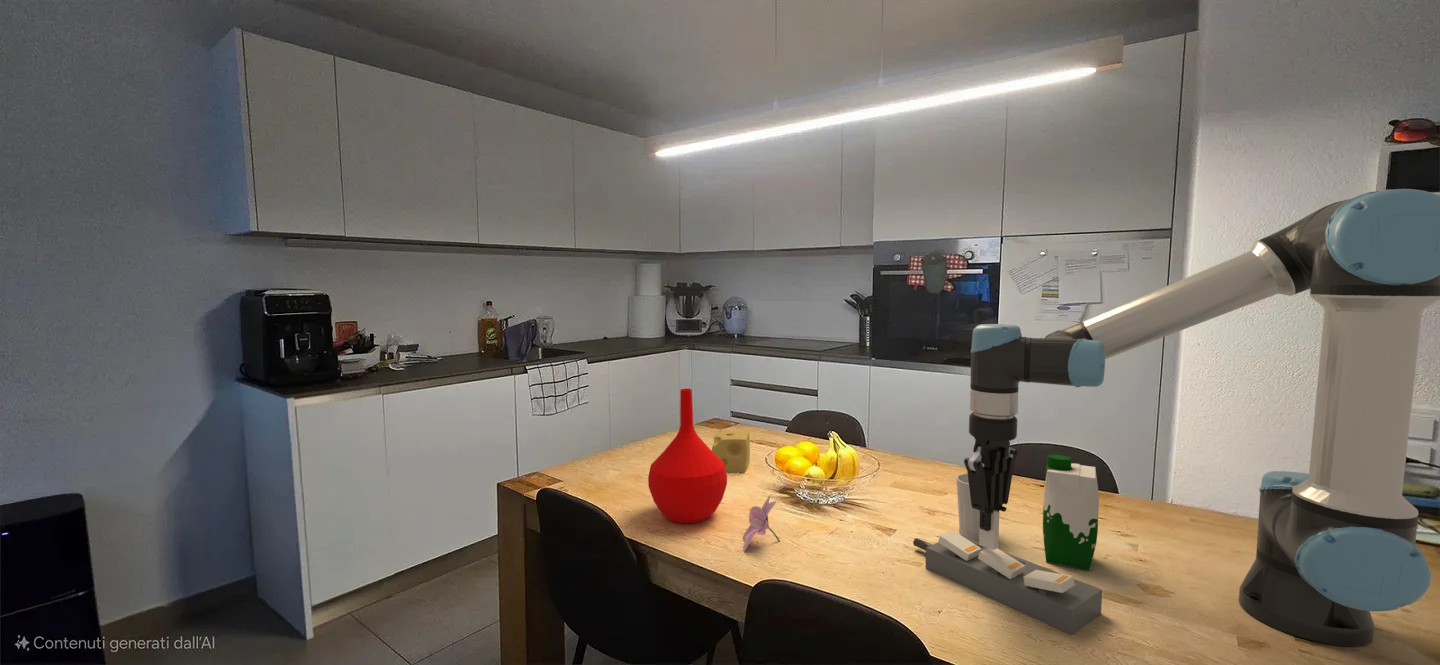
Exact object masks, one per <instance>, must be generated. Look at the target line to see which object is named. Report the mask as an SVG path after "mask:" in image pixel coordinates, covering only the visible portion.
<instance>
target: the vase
mask: <svg viewBox="0 0 1440 665" xmlns="http://www.w3.org/2000/svg"><path fill="white" fill-rule="evenodd" d="M679 394H680V399H679V400H680V401H679V402H680V405H679V409H680V412H679V413H680V414H679V415H680V418H679V419H680V424H679V430H678V432H677V434H676V436H675V437H674V438H673V439H672V440H671V441H670V443H669V444H668V446H666V448H665V449H664V450H663V451H662V452H661V453H660V455H658V456H657V458H655V460H654V461H653V462H652V463H651V464H650V466H649V472H648V478H647V480H648V481H647V482H648V483H647V484H648V489H649V492H650V495H651V497H652V500H653V503H654V504H655V506H656V507H657V509H658V510H659V511H660V513H661V514H662V515H663V516H664V517H665V518H667V519H668V520H669V521H671V522H674V523H677V524H678V523H679V524H696V523H697V524H698V523H701V522H704V521H705V520H708V519H709V518H710V517H711V516H712V515H713V514H714V513H715V512H716V510H717V509H718V507H719V506H720V505H721V502H722V500H723V498H724V495H725V492H726V488H727V486H728V472H726V468H725V464H724V462H723V461H722V460H721V459H720V458H719V457H718V456H717V455H716V454H715V453H714V452H713V451H712V449H711V448H710V447H709V446H708V445H707V444H706V443H705V442H704V441H703V440H702V438H700V436H699V435H698V433H697V432H696V430H695V426H694V409H693V389H692V388H681V389H680V393H679Z"/></svg>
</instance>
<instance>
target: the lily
mask: <svg viewBox="0 0 1440 665" xmlns="http://www.w3.org/2000/svg"><path fill="white" fill-rule="evenodd" d="M771 495H772V494H769V496H767V498H766V500H765V501H764V503H763V504H762V505H761V506H762V507H760V506H757V505H755V506H751V508H750V510H749V514H748V522H749V526H748V527H747V528H746V530H745V532H744V534H743V536H742V539H744V544H743V549H742V550H743V553H745V552H746V550H747V548H748V546H749V545H750V543H751V541H752V540H753V538H754V537H755V535H759V536H765V535H766V534H767V533H766V531H767V530H769V531H770V532H771V533H772V534H773V535H774V536H775V538H776V540H777V541H778V543H780V542H781V540H780V539H779V537H778V536H777V535H776V533H775V532H774V530H773V529H772V528H771V527H770V526H769V517H768V516H769V514H770V512H771V510H772V509H773V508H774V506H775V505H776V504H777V501H776V500H775V501H771V502H770V500H771Z"/></svg>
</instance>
